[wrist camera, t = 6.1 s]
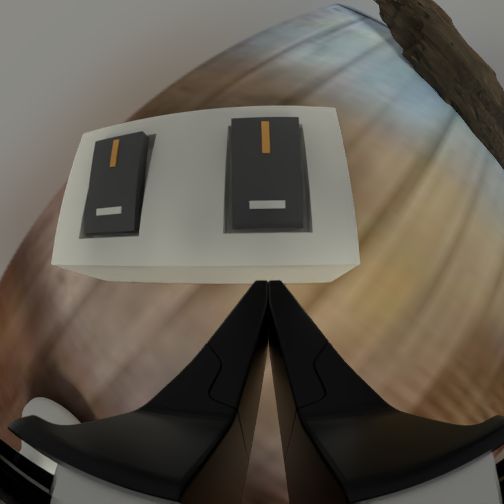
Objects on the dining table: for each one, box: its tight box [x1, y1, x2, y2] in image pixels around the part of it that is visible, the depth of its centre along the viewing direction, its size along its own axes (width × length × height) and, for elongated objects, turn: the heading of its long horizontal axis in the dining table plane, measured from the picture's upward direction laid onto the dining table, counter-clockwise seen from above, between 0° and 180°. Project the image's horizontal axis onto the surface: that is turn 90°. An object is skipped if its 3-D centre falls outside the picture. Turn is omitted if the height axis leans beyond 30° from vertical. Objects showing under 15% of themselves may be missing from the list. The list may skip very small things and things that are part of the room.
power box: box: [51, 106, 360, 284], centre depth 18 cm, size 15×18×7 cm
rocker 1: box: [85, 131, 149, 235], centre depth 14 cm, size 6×4×1 cm, turn 0°
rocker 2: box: [231, 117, 303, 229], centre depth 14 cm, size 6×4×1 cm, turn 0°
